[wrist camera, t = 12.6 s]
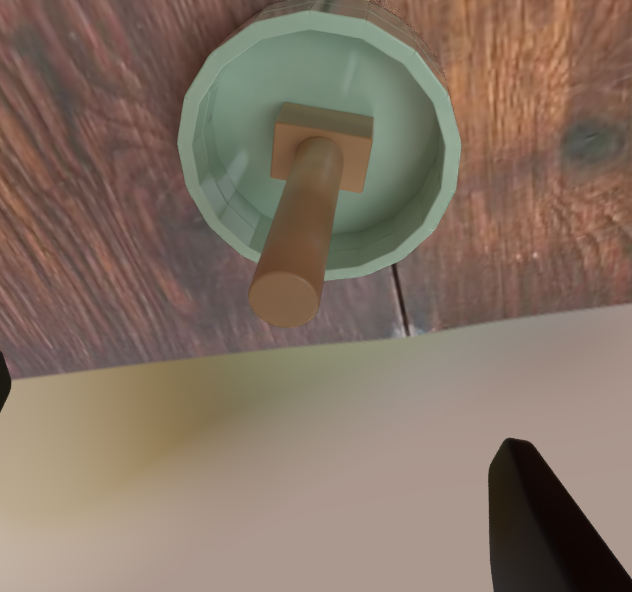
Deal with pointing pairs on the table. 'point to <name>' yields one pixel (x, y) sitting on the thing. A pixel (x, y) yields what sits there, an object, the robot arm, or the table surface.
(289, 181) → the stirring stick
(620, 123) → the table surface
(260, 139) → the bowl
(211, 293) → the table surface
